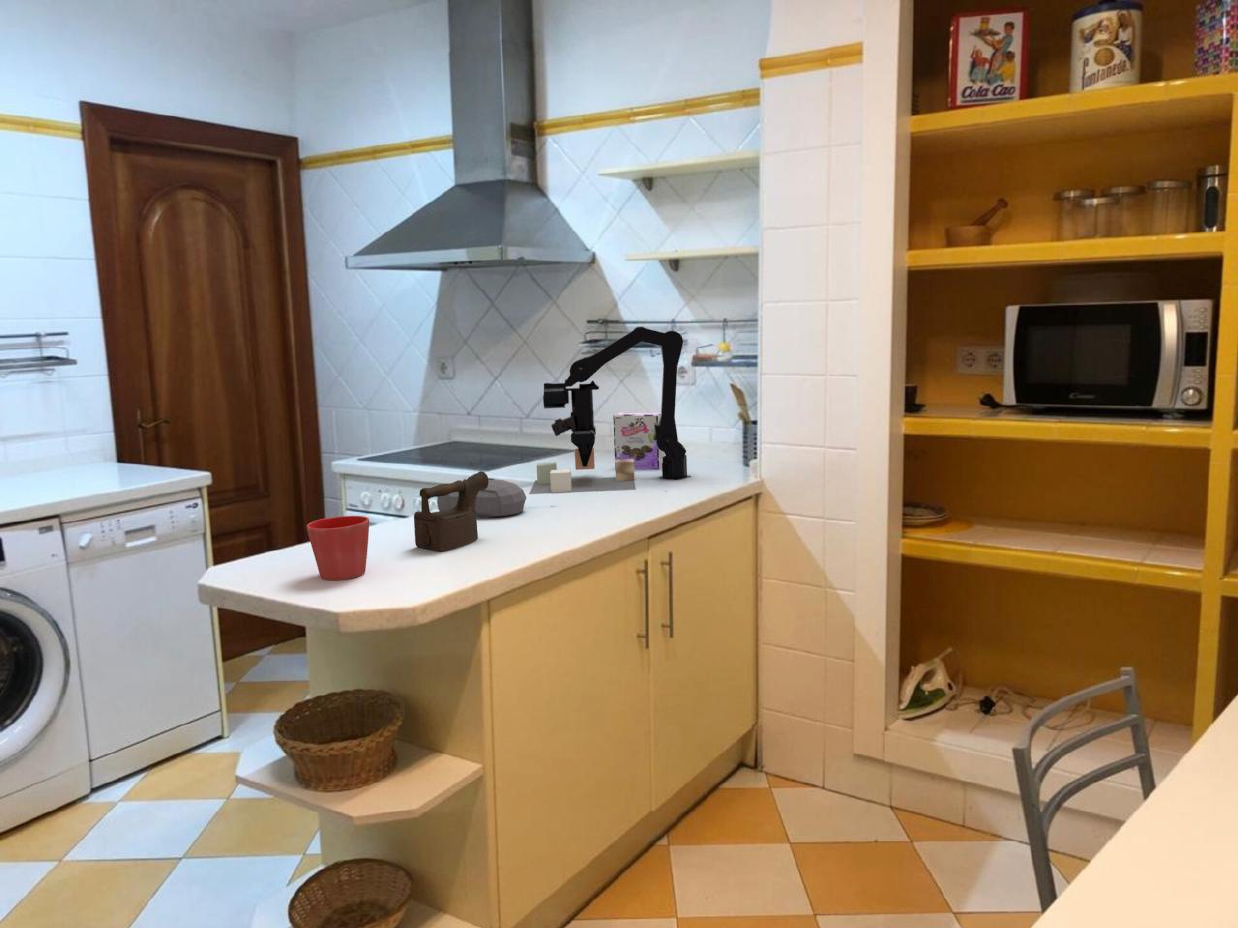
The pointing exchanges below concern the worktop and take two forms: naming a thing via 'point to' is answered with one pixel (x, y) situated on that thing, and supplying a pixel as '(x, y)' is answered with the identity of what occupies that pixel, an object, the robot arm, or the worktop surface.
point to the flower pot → (340, 546)
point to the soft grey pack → (491, 499)
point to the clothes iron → (449, 515)
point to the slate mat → (588, 485)
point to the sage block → (545, 472)
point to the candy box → (637, 440)
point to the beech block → (624, 470)
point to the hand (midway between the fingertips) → (585, 464)
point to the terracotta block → (579, 463)
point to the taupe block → (560, 480)
